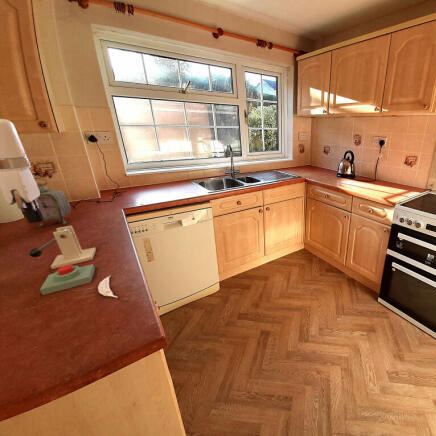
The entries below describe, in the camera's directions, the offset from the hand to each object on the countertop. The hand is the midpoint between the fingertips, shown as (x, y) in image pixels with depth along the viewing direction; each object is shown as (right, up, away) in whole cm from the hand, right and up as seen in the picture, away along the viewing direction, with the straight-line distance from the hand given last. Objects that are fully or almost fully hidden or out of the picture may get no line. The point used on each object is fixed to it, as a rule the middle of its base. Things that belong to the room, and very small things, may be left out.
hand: (36, 221), depth 78 cm
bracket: (-2, -15, +17) cm, 22 cm away
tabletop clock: (-43, -2, +52) cm, 68 cm away
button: (+8, -17, +2) cm, 19 cm away
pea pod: (+24, -22, -2) cm, 33 cm away
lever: (-6, -9, +12) cm, 17 cm away
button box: (+8, -20, +3) cm, 22 cm away
